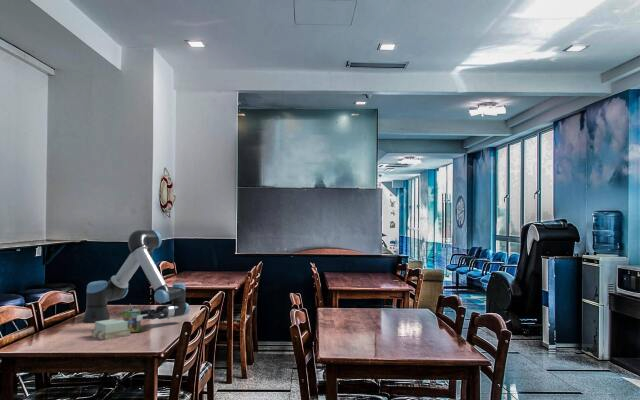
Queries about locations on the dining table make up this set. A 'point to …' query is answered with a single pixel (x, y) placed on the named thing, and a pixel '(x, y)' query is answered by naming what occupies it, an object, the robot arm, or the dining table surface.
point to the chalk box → (132, 319)
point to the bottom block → (110, 334)
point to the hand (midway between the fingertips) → (130, 316)
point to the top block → (111, 325)
